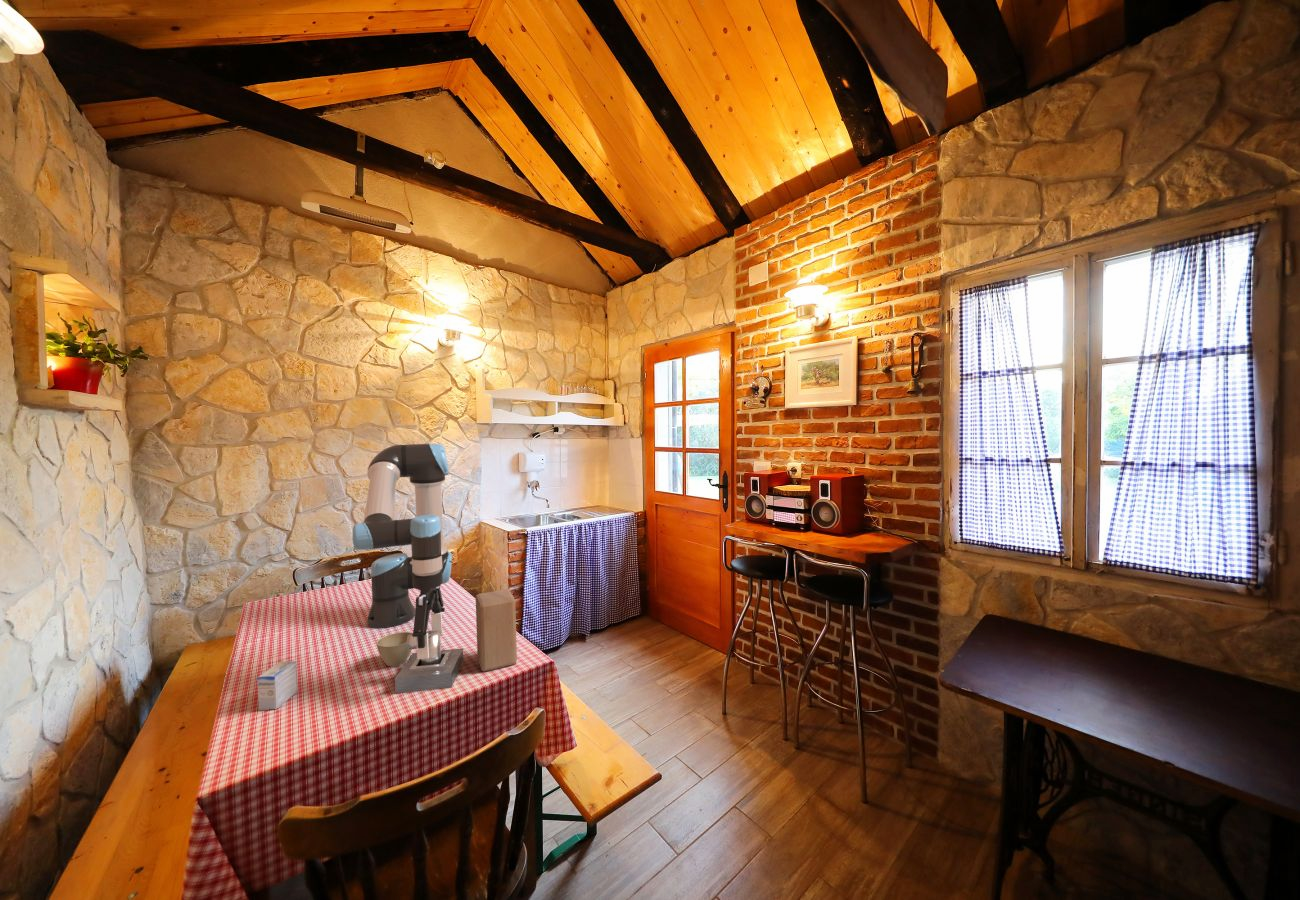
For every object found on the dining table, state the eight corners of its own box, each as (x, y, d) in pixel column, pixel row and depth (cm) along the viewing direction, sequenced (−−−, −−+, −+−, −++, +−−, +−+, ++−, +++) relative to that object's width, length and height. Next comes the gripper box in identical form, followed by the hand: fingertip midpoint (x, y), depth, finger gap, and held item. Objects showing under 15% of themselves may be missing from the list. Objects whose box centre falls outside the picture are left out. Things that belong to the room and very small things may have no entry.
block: (481, 673, 130) (479, 604, 129) (477, 658, 139) (474, 593, 138) (517, 664, 135) (515, 597, 134) (511, 650, 144) (509, 587, 143)
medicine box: (280, 693, 122) (279, 661, 122) (298, 691, 122) (297, 660, 122) (258, 711, 114) (256, 677, 114) (277, 709, 115) (275, 676, 114)
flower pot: (399, 672, 131) (398, 647, 131) (369, 669, 134) (368, 645, 133) (423, 655, 141) (422, 632, 141) (395, 652, 143) (394, 630, 143)
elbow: (443, 670, 132) (442, 628, 131) (439, 679, 127) (437, 635, 127) (413, 673, 131) (411, 630, 130) (407, 683, 126) (405, 638, 125)
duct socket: (413, 666, 135) (412, 650, 134) (463, 661, 137) (462, 645, 137) (395, 693, 121) (394, 675, 121) (451, 687, 123) (451, 669, 123)
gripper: (426, 559, 139) (429, 628, 140) (396, 588, 115) (400, 670, 116) (452, 558, 141) (455, 625, 142) (428, 586, 116) (431, 667, 117)
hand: (430, 646), depth 129 cm, fingers open, 13 cm apart
